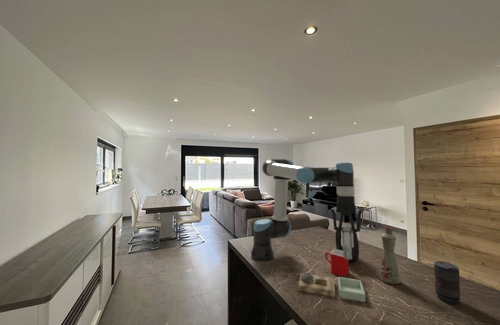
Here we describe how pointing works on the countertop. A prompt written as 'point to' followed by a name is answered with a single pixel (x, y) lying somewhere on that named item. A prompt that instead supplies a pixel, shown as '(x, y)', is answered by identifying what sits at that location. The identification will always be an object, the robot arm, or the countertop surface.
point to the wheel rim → (354, 249)
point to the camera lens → (447, 282)
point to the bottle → (389, 258)
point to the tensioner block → (311, 281)
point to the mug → (338, 263)
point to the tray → (351, 289)
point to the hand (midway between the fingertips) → (347, 245)
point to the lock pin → (347, 242)
